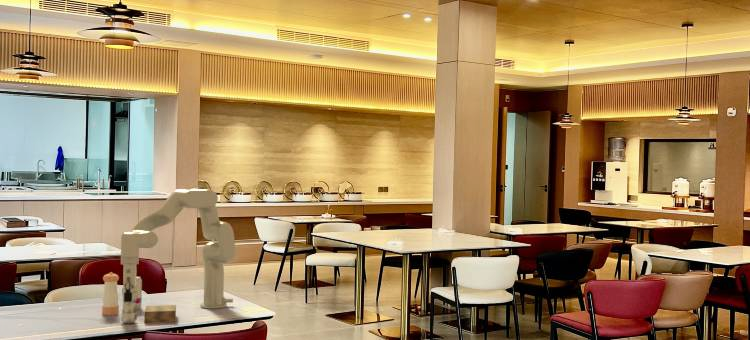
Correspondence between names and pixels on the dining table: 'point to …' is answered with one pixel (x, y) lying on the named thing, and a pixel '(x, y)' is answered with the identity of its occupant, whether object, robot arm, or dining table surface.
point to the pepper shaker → (110, 295)
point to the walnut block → (160, 314)
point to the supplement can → (138, 292)
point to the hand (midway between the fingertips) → (128, 299)
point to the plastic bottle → (129, 307)
